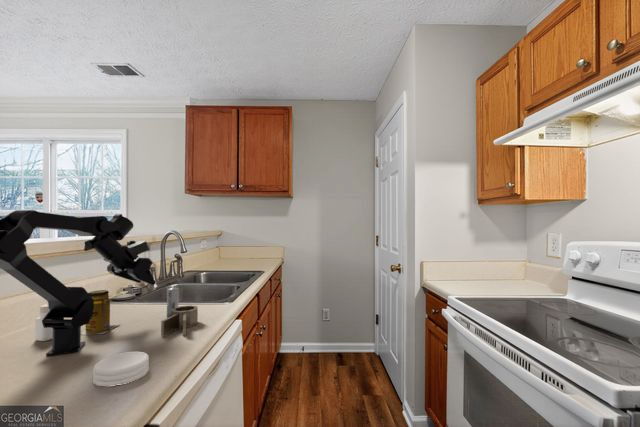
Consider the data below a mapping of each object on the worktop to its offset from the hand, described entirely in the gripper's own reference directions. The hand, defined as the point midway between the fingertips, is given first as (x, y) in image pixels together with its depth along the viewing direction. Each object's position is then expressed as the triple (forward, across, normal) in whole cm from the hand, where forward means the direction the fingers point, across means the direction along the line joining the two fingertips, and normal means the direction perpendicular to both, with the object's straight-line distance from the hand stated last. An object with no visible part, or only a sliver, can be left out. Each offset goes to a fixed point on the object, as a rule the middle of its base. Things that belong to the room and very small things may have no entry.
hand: (147, 282), depth 102 cm
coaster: (-4, -32, +25) cm, 41 cm away
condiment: (+2, +6, +17) cm, 18 cm away
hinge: (+12, -14, +7) cm, 20 cm away
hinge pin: (+15, -1, +3) cm, 15 cm away
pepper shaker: (-6, +10, +26) cm, 28 cm away
